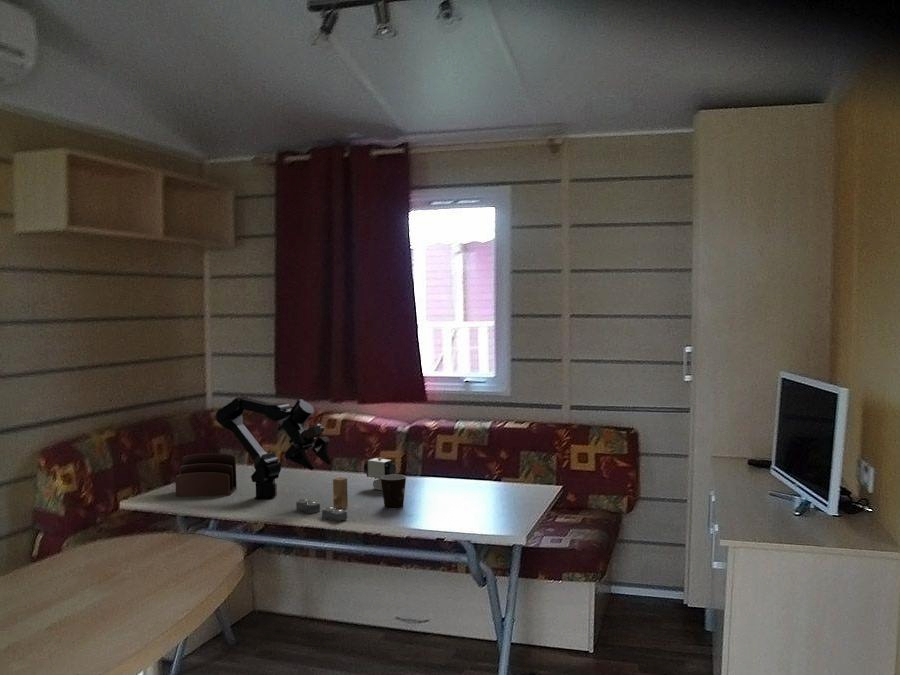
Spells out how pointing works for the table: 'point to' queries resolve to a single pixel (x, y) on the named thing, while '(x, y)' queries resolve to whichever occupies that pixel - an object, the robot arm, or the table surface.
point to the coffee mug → (393, 490)
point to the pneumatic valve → (379, 470)
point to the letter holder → (206, 475)
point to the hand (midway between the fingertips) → (321, 466)
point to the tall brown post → (340, 493)
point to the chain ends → (327, 513)
